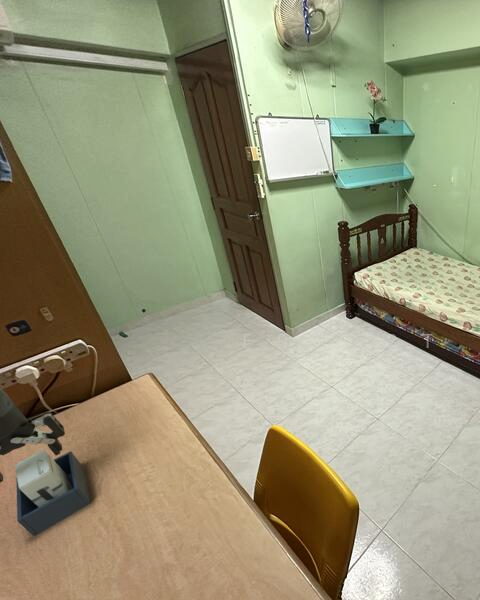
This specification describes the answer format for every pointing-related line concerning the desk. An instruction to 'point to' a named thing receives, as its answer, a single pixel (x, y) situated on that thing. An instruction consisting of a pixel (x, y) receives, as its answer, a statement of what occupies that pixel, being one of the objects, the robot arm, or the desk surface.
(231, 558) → the desk surface
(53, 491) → the ink box
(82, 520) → the desk surface
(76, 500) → the bin
